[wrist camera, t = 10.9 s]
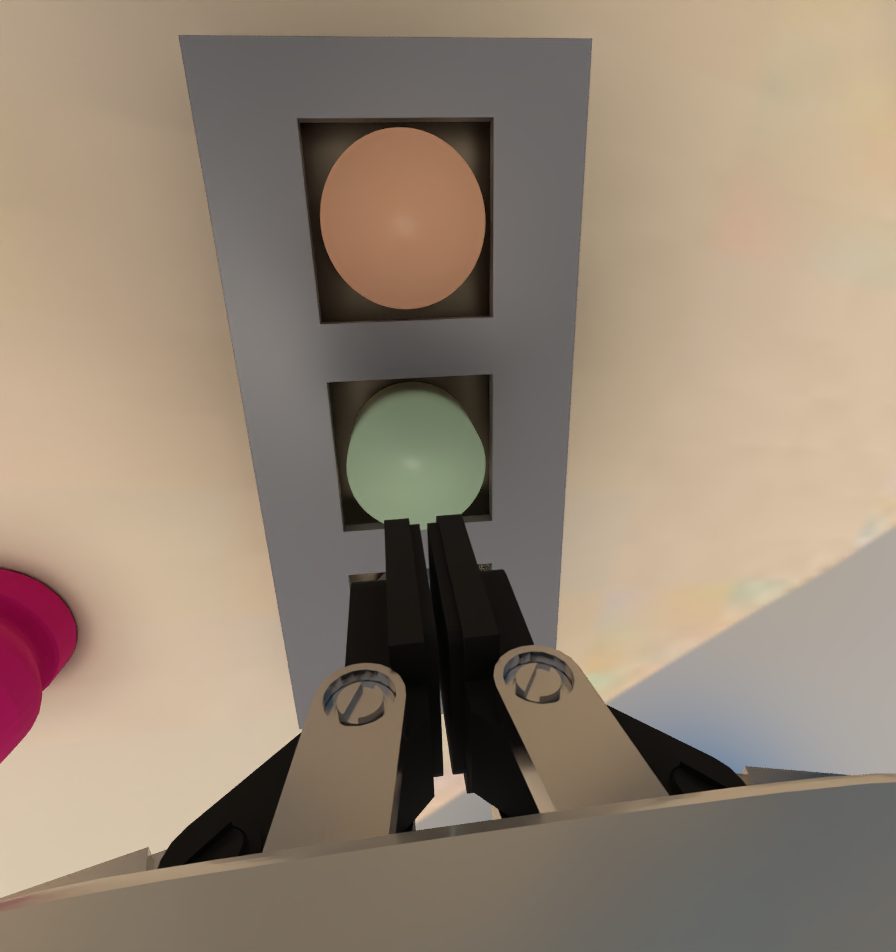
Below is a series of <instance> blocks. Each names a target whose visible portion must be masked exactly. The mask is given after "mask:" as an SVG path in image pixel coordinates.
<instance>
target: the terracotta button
mask: <svg viewBox="0 0 896 952" xmlns="http://www.w3.org/2000/svg"><path fill="white" fill-rule="evenodd" d="M320 224H321V231H322V237H323V241H324V244H325V247H326V250H327V253H328V255H329V257H330V260H331V261H332V263H333V265H334V267H335V268H336V270H337V271H338V273H339V274H340V275H341V277H342V278H343V279H344V280H345V281H346V282H347V283H348V284H349V286H350V287H352V288H353V289H354V290H355V291H356V292H358V293H359V294H360V295H362V296H363V297H365V298H367V299H368V300H370V301H373V302H375V303H377V304H380V305H383V306H386V307H390V308H396V309H415V308H421V307H425V306H429V305H432V304H434V303H437V302H439V301H441V300H442V299H444V298H446V297H448V296H449V295H450V294H451V293H453V292H454V291H455V290H456V289H457V288H458V287H459V286H460V285H461V284H463V282H464V281H465V280H466V278H467V277H468V276H469V275H470V273H471V271H472V270H473V268H474V266H475V264H476V262H477V260H478V258H479V255H480V252H481V249H482V245H483V240H484V235H485V208H484V203H483V197H482V194H481V191H480V187H479V185H478V183H477V180H476V178H475V176H474V174H473V172H472V171H471V169H470V167H469V166H468V164H467V163H466V162H465V160H464V159H463V158H462V157H461V155H460V154H459V153H458V152H457V151H456V150H455V149H454V148H453V147H451V146H450V145H449V144H447V143H446V142H445V141H443V140H442V139H440V138H438V137H436V136H434V135H433V134H430V133H427V132H425V131H422V130H418V129H413V128H405V127H394V128H386V129H382V130H378V131H375V132H372V133H370V134H367V135H365V136H364V137H362V138H360V139H359V140H357V141H356V142H354V143H353V144H352V145H351V146H350V147H348V148H347V149H346V150H345V151H344V153H343V154H342V155H341V156H340V157H339V158H338V160H337V161H336V163H335V164H334V166H333V167H332V169H331V171H330V173H329V175H328V177H327V180H326V183H325V186H324V189H323V193H322V198H321V207H320Z"/></svg>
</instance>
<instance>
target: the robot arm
mask: <svg viewBox="0 0 896 952" xmlns="http://www.w3.org/2000/svg"><path fill="white" fill-rule="evenodd" d="M384 532H385V562H386V580H377V581H366V582H355V583H351V587H350V600H349V615H348V629H347V643H346V658H345V667H344V668H341V669H339V670H337V671H336V672H334V673H332V674H331V675H329V676H328V677H327V678H326V679H325V680H324V681H323V682H322V683H321V684H320V685H319V686H318V688H317V690H316V692H315V694H314V696H313V699H312V702H311V705H310V708H309V711H308V714H307V717H306V720H305V723H304V726H303V729H302V732H301V733H300V734H299V735H298V736H296V737H295V738H294V739H293V740H291V741H290V742H289V743H288V744H287V745H285V746H284V747H283V748H282V749H281V750H279V751H278V752H277V753H276V754H275V755H273V756H272V757H271V758H270V759H269V760H267V761H266V762H265V763H264V764H262V765H261V766H260V767H259V768H258V769H256V770H255V771H254V772H253V773H252V774H250V775H249V776H248V777H247V778H246V779H244V780H243V781H242V782H241V783H240V784H238V785H237V786H236V787H235V788H234V789H232V790H231V791H230V792H229V793H227V794H226V795H225V796H224V797H223V798H221V799H220V800H219V801H218V802H217V803H215V804H214V805H213V806H212V807H211V808H209V809H208V810H207V811H206V812H205V813H203V814H202V815H201V816H200V817H198V818H197V819H196V820H195V821H194V822H192V823H191V824H190V825H189V826H188V827H186V829H185V830H184V831H183V832H182V833H181V834H180V835H179V836H178V837H177V838H176V839H175V840H174V841H173V842H172V843H171V844H170V846H169V848H168V849H167V850H164V851H161V852H159V853H156V854H153V855H151V852H150V850H149V847H147V848H144V849H141V850H138V851H135V852H133V853H130V854H127V855H124V856H121V857H118V858H115V859H112V860H109V861H107V862H104V863H101V864H98V865H95V866H92V867H89V868H86V869H83V870H81V871H78V872H75V873H72V874H69V875H66V876H63V877H60V878H57V879H54V880H52V881H49V882H46V883H43V884H40V885H37V886H34V887H31V888H28V889H26V890H23V891H20V892H17V893H14V894H11V895H8V896H5V897H2V898H0V952H896V774H863V775H843V774H831V773H818V772H808V771H796V770H783V769H772V768H761V767H748V766H745V768H744V771H743V774H738V773H735V772H734V771H733V770H732V769H730V768H729V767H728V766H726V765H725V764H723V763H721V762H720V761H718V760H717V759H715V758H714V757H712V756H710V755H708V754H706V753H703V752H702V751H699V750H697V749H695V748H693V747H691V746H689V745H687V744H685V743H683V742H681V741H679V740H677V739H675V738H673V737H671V736H669V735H667V734H665V733H663V732H661V731H659V730H657V729H655V728H653V727H650V726H649V725H647V724H645V723H642V722H640V721H638V720H636V719H634V718H632V717H630V716H628V715H626V714H624V713H622V712H620V711H618V710H616V709H614V708H612V707H610V706H608V705H606V704H605V703H604V701H603V700H602V698H601V697H600V696H599V694H598V693H597V691H596V690H595V688H594V687H593V686H592V684H591V683H590V681H589V680H588V678H587V677H586V675H585V674H584V673H583V671H582V670H581V668H580V667H579V666H578V665H577V664H576V663H575V662H574V660H573V659H572V658H571V657H569V656H567V655H566V654H564V653H562V652H561V651H559V650H556V649H553V648H550V647H546V646H537V645H534V642H533V640H532V637H531V635H530V632H529V630H528V627H527V625H526V622H525V620H524V617H523V615H522V612H521V610H520V607H519V605H518V602H517V599H516V597H515V594H514V592H513V589H512V587H511V584H510V582H509V579H508V577H507V574H506V572H505V570H503V569H498V570H487V571H479V567H478V564H477V561H476V558H475V555H474V552H473V549H472V545H471V542H470V539H469V536H468V533H467V530H466V526H465V523H464V520H463V517H462V515H461V514H454V515H442V516H436V523H427V538H428V560H429V581H428V575H427V568H426V562H425V556H424V549H423V543H422V537H421V530H420V524H411V525H410V521H409V518H404V519H392V520H384ZM429 582H430V587H429ZM440 692H441V699H442V706H443V713H444V720H445V727H446V734H447V741H448V747H449V754H450V761H451V768H452V773H453V775H454V774H462V773H464V779H465V785H466V791H467V793H475V794H477V795H478V796H480V797H481V798H483V799H484V800H486V801H487V802H489V803H490V804H491V805H492V814H493V819H494V820H489V821H482V822H475V823H467V824H460V825H453V826H446V827H439V828H432V829H425V830H417V831H416V826H415V819H416V818H417V816H418V815H419V814H420V813H421V812H422V810H423V809H424V808H425V807H426V806H427V804H428V803H429V802H430V801H431V800H432V799H433V797H434V779H433V777H438V776H443V752H442V727H441V702H440Z"/></svg>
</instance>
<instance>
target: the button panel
mask: <svg viewBox="0 0 896 952" xmlns="http://www.w3.org/2000/svg"><path fill="white" fill-rule="evenodd" d="M179 41H180V46H181V52H182V58H183V64H184V69H185V75H186V81H187V87H188V92H189V98H190V104H191V110H192V115H193V121H194V127H195V133H196V138H197V144H198V150H199V156H200V161H201V167H202V173H203V179H204V184H205V190H206V196H207V202H208V207H209V213H210V219H211V225H212V230H213V236H214V242H215V248H216V253H217V259H218V265H219V270H220V276H221V282H222V288H223V293H224V299H225V305H226V311H227V316H228V322H229V328H230V334H231V339H232V345H233V351H234V357H235V362H236V368H237V374H238V380H239V385H240V391H241V397H242V403H243V408H244V414H245V420H246V426H247V431H248V437H249V443H250V449H251V454H252V460H253V466H254V472H255V477H256V483H257V489H258V494H259V500H260V506H261V512H262V517H263V523H264V529H265V535H266V540H267V546H268V552H269V558H270V563H271V569H272V575H273V581H274V586H275V592H276V598H277V604H278V609H279V615H280V621H281V627H282V632H283V638H284V644H285V650H286V655H287V661H288V667H289V673H290V678H291V684H292V690H293V696H294V701H295V707H296V713H297V718H298V724H299V729H303V726H304V723H305V720H306V717H307V714H308V711H309V708H310V705H311V702H312V699H313V696H314V694H315V692H316V690H317V688H318V686H319V685H320V684H321V683H322V682H323V681H324V680H325V679H326V678H327V677H328V676H329V675H331V674H332V673H334V672H336V671H337V670H339V669H341V668H344V667H345V658H346V643H347V629H348V615H349V600H350V587H351V580H350V575H356V574H368V573H380V572H386V562H385V532H384V523H382V522H380V523H367V524H353V525H344V517H343V508H342V499H341V490H340V481H339V472H338V463H337V454H336V445H335V436H334V427H333V418H332V409H331V400H330V392H329V383H328V382H344V381H364V380H384V379H404V378H424V377H444V376H464V375H484V374H490V514H488V515H474V516H462V517H463V520H464V523H465V526H466V530H467V533H468V536H469V539H470V542H471V545H472V549H473V552H474V555H475V558H476V561H477V564H489V570H498V569H503V570H505V572H506V574H507V577H508V579H509V582H510V584H511V587H512V589H513V592H514V594H515V597H516V599H517V602H518V605H519V607H520V610H521V612H522V615H523V617H524V620H525V622H526V625H527V627H528V630H529V632H530V635H531V637H532V640H533V642H534V645H537V646H546V647H550V648H553V649H556V640H557V623H558V606H559V589H560V573H561V556H562V539H563V522H564V505H565V488H566V471H567V454H568V438H569V421H570V404H571V387H572V370H573V353H574V336H575V319H576V302H577V286H578V269H579V252H580V235H581V218H582V201H583V184H584V167H585V150H586V134H587V117H588V100H589V83H590V66H591V49H592V39H581V38H457V37H334V36H210V35H179ZM347 122H490V316H471V317H446V318H421V319H396V320H371V321H346V322H322V320H321V311H320V302H319V293H318V284H317V275H316V266H315V257H314V248H313V239H312V230H311V221H310V212H309V203H308V194H307V185H306V176H305V167H304V158H303V149H302V140H301V131H300V123H347ZM421 537H422V543H423V549H424V556H425V562H426V568H427V569H429V560H428V538H427V529H426V530H421ZM440 702H441V714H444V713H443V706H442V699H441V693H440Z"/></svg>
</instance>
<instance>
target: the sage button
mask: <svg viewBox="0 0 896 952" xmlns="http://www.w3.org/2000/svg"><path fill="white" fill-rule="evenodd" d="M346 466H347V477H348V482H349V485H350V488H351V491H352V493H353V495H354V497H355V499H356V500H357V502H358V503H359V504H360V506H361V507H362V508H363V509H364V510H365V511H366V512H367V513H368V514H369V515H371V516H372V517H373V518H375V519H376V520H378V521H380V522H382V523H384V520H392V519H404V518H409V521H410V525H411V524H420V530H426V529H427V523H436V516H442V515H454V514H462V513H463V512H464V511H465V510H466V509H467V508H468V507H469V506H470V505H471V504H472V502H473V501H474V499H475V498H476V496H477V494H478V493H479V491H480V489H481V486H482V483H483V480H484V475H485V466H486V462H485V453H484V448H483V445H482V443H481V440H480V438H479V436H478V434H477V432H476V430H475V428H474V427H473V425H472V423H471V421H470V419H469V417H468V415H467V414H466V412H465V410H464V408H463V407H462V406H461V404H460V403H459V402H458V401H457V400H456V399H455V398H454V397H453V396H452V395H450V394H449V393H448V392H446V391H444V390H443V389H441V388H439V387H436V386H434V385H430V384H427V383H421V382H405V383H399V384H395V385H392V386H389V387H387V388H384V389H383V390H381V391H379V392H377V393H376V394H375V395H373V396H372V397H371V398H370V399H369V400H368V401H367V402H366V403H365V404H364V405H363V407H362V408H361V409H360V411H359V413H358V415H357V417H356V419H355V421H354V424H353V428H352V433H351V438H350V444H349V450H348V455H347V464H346Z"/></svg>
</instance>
